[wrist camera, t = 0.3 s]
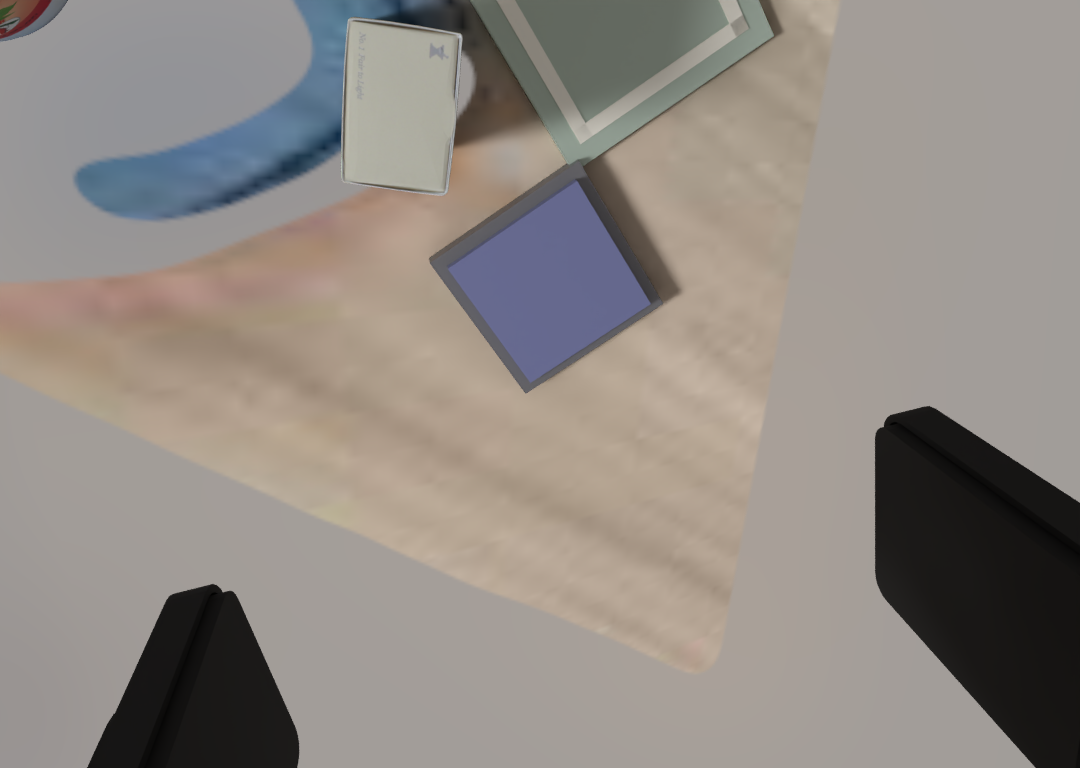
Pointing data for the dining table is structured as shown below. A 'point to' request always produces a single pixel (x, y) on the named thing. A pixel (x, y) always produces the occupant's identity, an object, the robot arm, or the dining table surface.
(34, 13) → the fruit juice
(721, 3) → the marked board
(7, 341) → the dining table surface
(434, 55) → the skincare box
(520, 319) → the ink pad
